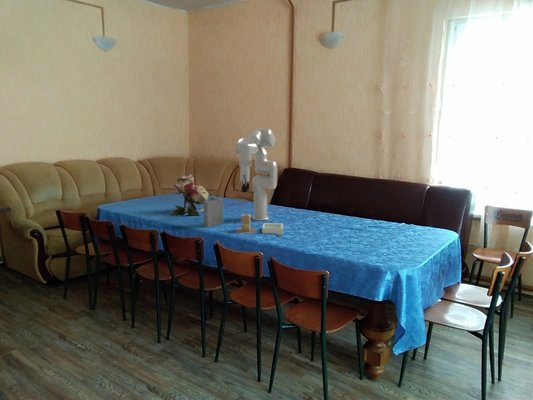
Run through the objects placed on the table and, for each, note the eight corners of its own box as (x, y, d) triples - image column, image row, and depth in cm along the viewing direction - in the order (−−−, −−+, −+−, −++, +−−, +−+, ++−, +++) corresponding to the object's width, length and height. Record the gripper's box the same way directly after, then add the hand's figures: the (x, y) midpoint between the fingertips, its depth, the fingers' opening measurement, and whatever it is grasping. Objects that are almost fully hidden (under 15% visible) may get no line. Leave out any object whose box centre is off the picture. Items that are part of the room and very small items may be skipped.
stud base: (238, 230, 283) (238, 214, 281) (256, 230, 282) (256, 214, 280) (235, 234, 271) (235, 218, 270) (254, 235, 270) (254, 218, 269)
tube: (242, 229, 279) (242, 214, 278) (250, 229, 279) (250, 214, 277) (241, 231, 274) (241, 215, 273) (249, 231, 274) (249, 215, 272)
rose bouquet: (207, 215, 327) (206, 176, 322) (168, 215, 328) (167, 176, 322) (212, 209, 352) (211, 172, 347) (176, 209, 353) (175, 172, 348)
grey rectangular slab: (206, 227, 291) (205, 198, 287) (202, 226, 293) (201, 197, 290) (224, 223, 302) (223, 195, 298) (220, 222, 305) (219, 194, 301)
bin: (264, 230, 282) (264, 223, 281) (282, 231, 281) (282, 223, 280) (262, 235, 270) (262, 227, 269) (281, 235, 269) (281, 228, 268)
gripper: (241, 162, 278) (241, 188, 281) (237, 164, 261) (237, 192, 264) (253, 162, 277) (253, 189, 280) (249, 164, 260) (249, 193, 263)
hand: (245, 190), depth 272 cm, fingers open, 9 cm apart
